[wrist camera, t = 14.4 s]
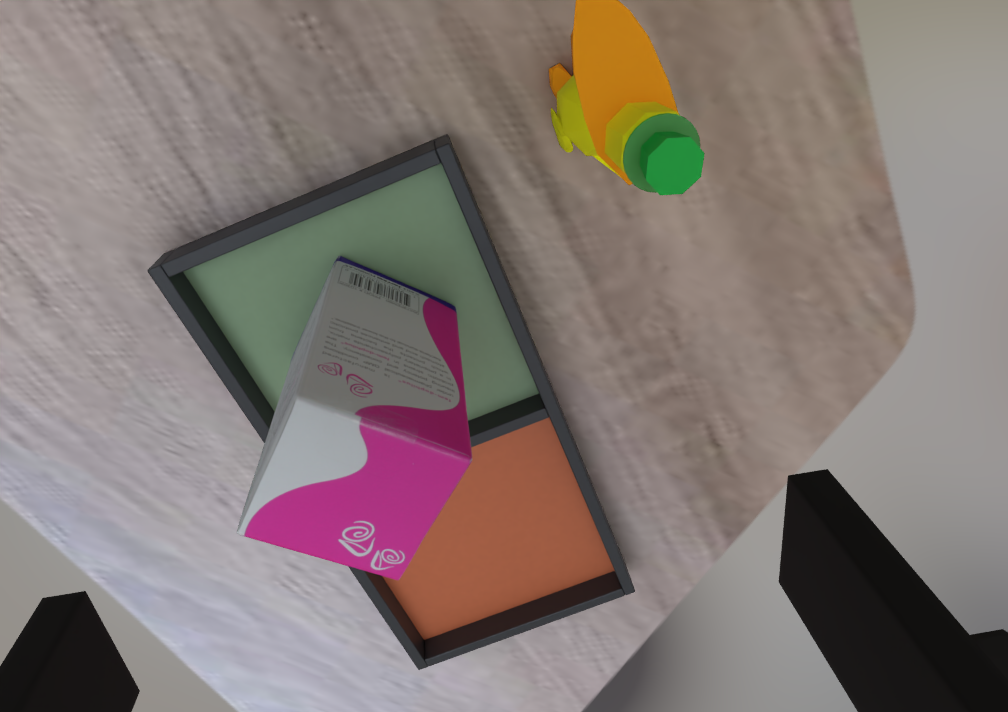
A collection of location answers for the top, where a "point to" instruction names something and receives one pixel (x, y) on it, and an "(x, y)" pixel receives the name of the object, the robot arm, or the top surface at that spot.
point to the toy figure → (623, 103)
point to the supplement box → (364, 427)
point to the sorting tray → (487, 380)
